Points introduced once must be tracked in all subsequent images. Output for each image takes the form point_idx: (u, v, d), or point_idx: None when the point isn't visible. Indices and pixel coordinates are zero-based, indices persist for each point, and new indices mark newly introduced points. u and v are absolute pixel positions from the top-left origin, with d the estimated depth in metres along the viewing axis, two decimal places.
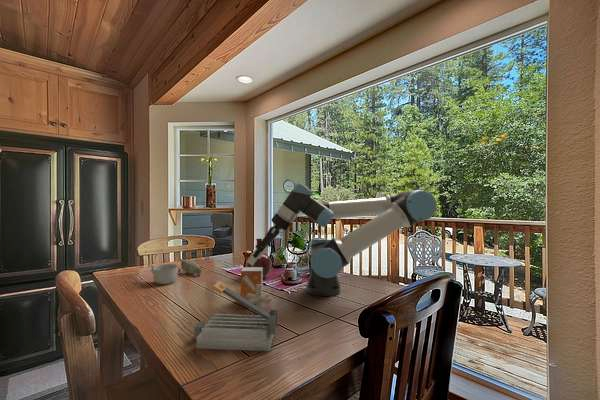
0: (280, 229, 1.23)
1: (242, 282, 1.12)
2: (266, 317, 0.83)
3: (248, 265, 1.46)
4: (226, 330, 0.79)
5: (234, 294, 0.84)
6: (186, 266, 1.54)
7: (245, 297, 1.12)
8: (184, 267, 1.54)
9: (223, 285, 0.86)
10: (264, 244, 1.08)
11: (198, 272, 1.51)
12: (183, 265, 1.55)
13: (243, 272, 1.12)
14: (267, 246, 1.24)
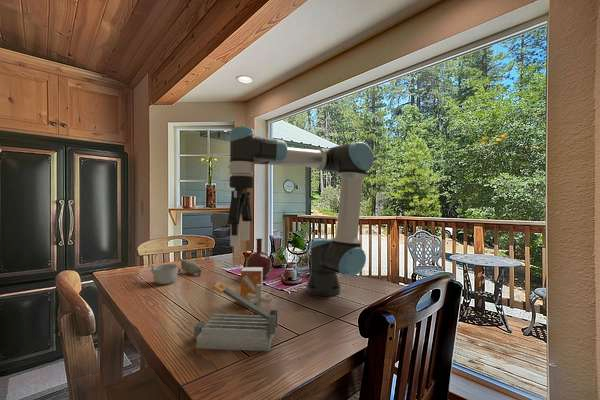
0: (249, 194, 1.00)
1: (242, 282, 1.12)
2: (266, 317, 0.83)
3: (248, 265, 1.46)
4: (226, 330, 0.79)
5: (234, 294, 0.84)
6: (186, 266, 1.54)
7: (245, 297, 1.12)
8: (184, 267, 1.54)
9: (223, 285, 0.86)
10: (234, 213, 0.85)
11: (198, 272, 1.51)
12: (183, 265, 1.55)
13: (243, 272, 1.12)
14: (248, 221, 0.99)
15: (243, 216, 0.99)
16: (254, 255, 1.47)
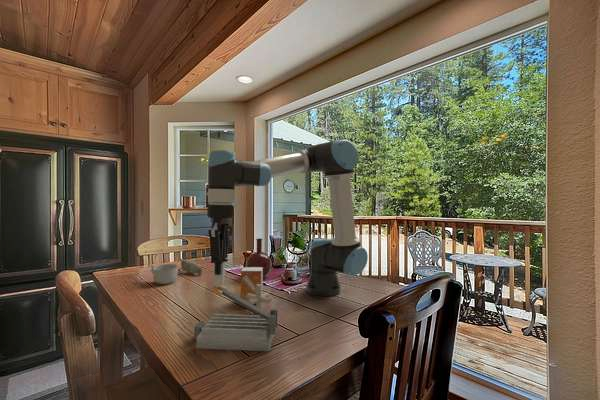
0: (230, 228, 0.90)
1: (242, 282, 1.12)
2: (266, 317, 0.83)
3: (248, 265, 1.46)
4: (226, 330, 0.79)
5: (233, 296, 0.84)
6: (187, 266, 1.54)
7: (245, 297, 1.12)
8: (185, 267, 1.55)
9: (222, 287, 0.86)
10: (216, 254, 0.80)
11: (199, 271, 1.52)
12: (183, 265, 1.56)
13: (243, 272, 1.12)
14: (222, 263, 0.84)
15: None
16: (254, 255, 1.47)
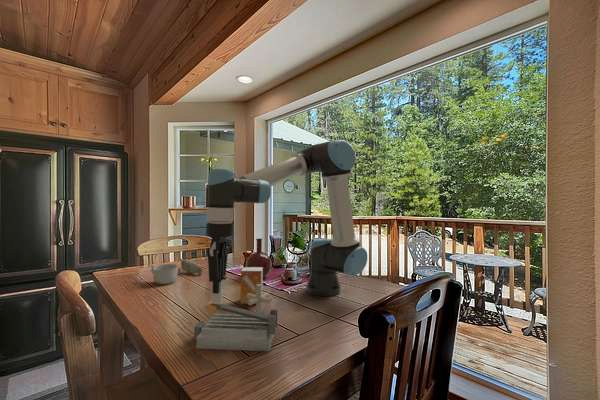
0: (228, 245, 0.90)
1: (242, 282, 1.12)
2: (265, 319, 0.83)
3: (248, 265, 1.46)
4: (226, 330, 0.79)
5: (228, 308, 0.84)
6: (187, 266, 1.55)
7: (245, 297, 1.12)
8: (185, 267, 1.55)
9: None
10: (214, 274, 0.80)
11: (199, 271, 1.53)
12: (183, 265, 1.56)
13: (243, 272, 1.12)
14: (220, 281, 0.84)
15: None
16: (254, 255, 1.47)
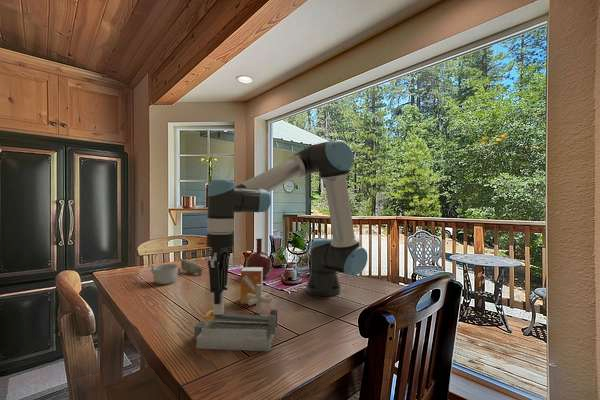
0: (229, 255, 0.90)
1: (242, 282, 1.12)
2: (265, 320, 0.83)
3: (248, 265, 1.46)
4: (226, 330, 0.79)
5: (227, 315, 0.84)
6: (187, 265, 1.55)
7: (245, 297, 1.12)
8: (185, 266, 1.55)
9: None
10: (215, 285, 0.80)
11: (200, 271, 1.53)
12: (184, 265, 1.56)
13: (243, 272, 1.12)
14: (222, 291, 0.84)
15: None
16: (254, 255, 1.47)
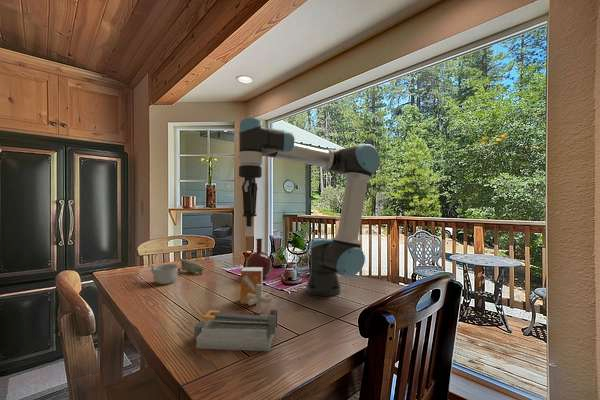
0: (257, 188, 1.03)
1: (242, 282, 1.12)
2: (265, 320, 0.83)
3: (248, 265, 1.46)
4: (226, 330, 0.79)
5: (227, 315, 0.84)
6: (187, 265, 1.56)
7: (245, 297, 1.12)
8: (185, 266, 1.56)
9: (214, 312, 0.86)
10: (248, 208, 0.93)
11: (200, 270, 1.54)
12: (184, 264, 1.57)
13: (243, 272, 1.12)
14: (252, 217, 0.97)
15: None
16: (254, 255, 1.47)
